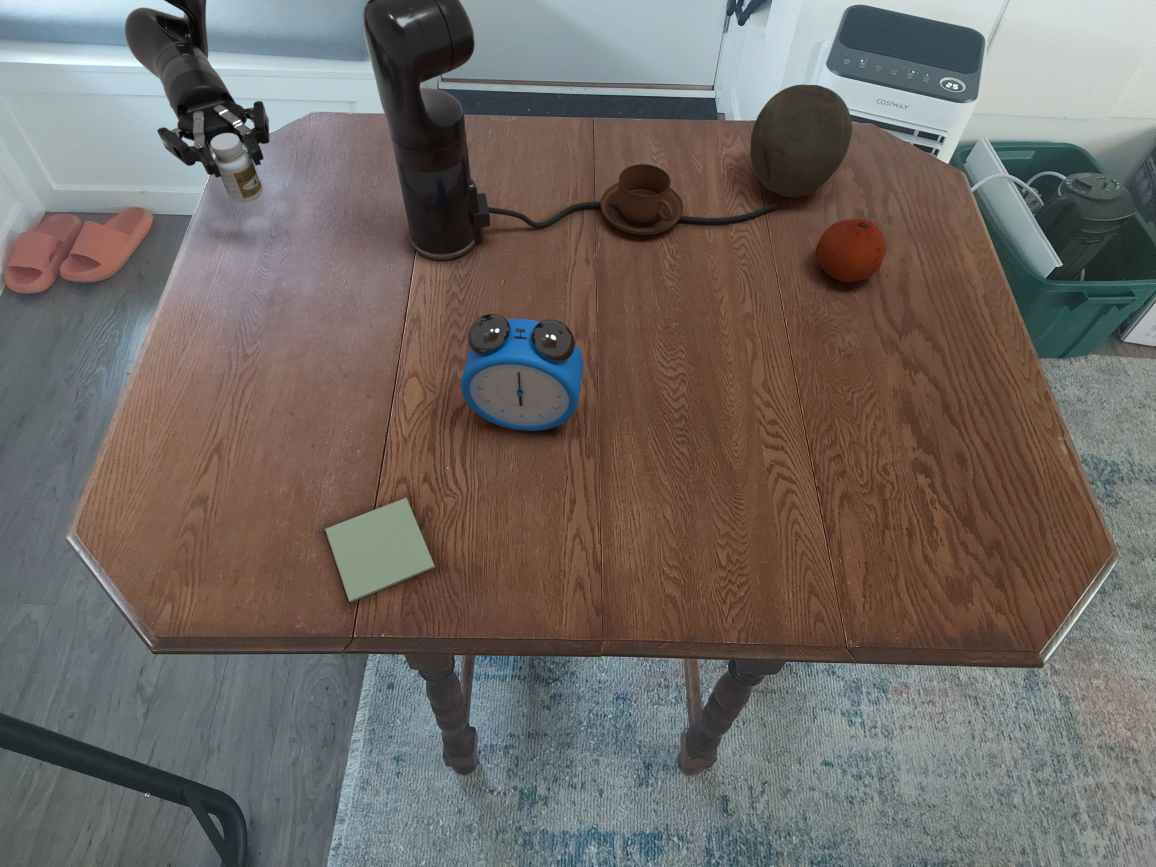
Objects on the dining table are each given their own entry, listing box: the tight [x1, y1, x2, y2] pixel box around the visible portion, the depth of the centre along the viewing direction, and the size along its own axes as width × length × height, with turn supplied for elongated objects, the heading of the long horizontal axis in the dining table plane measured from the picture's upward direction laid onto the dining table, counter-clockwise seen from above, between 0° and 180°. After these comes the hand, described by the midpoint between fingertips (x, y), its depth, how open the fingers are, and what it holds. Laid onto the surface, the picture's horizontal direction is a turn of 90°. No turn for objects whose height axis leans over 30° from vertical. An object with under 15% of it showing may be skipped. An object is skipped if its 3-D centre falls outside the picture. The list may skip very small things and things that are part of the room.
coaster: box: [324, 497, 436, 604], centre depth 79 cm, size 9×9×1 cm
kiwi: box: [749, 84, 853, 199], centre depth 110 cm, size 14×14×15 cm
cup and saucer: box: [600, 163, 684, 236], centre depth 109 cm, size 12×12×6 cm
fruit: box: [815, 218, 887, 283], centre depth 102 cm, size 9×9×8 cm
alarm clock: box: [460, 313, 584, 432], centre depth 84 cm, size 13×6×15 cm, turn 84°
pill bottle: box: [211, 133, 263, 203], centre depth 96 cm, size 4×4×8 cm
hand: (236, 164), depth 93 cm, fingers closed on pill bottle, 4 cm apart
